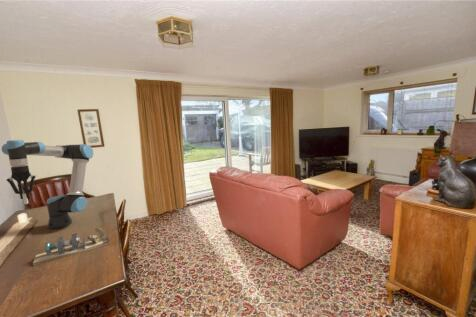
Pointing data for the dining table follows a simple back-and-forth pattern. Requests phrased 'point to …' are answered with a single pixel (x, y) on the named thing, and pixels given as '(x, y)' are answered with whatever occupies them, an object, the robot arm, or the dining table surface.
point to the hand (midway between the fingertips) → (26, 203)
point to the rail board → (68, 251)
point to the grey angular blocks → (73, 240)
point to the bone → (94, 237)
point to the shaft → (54, 246)
